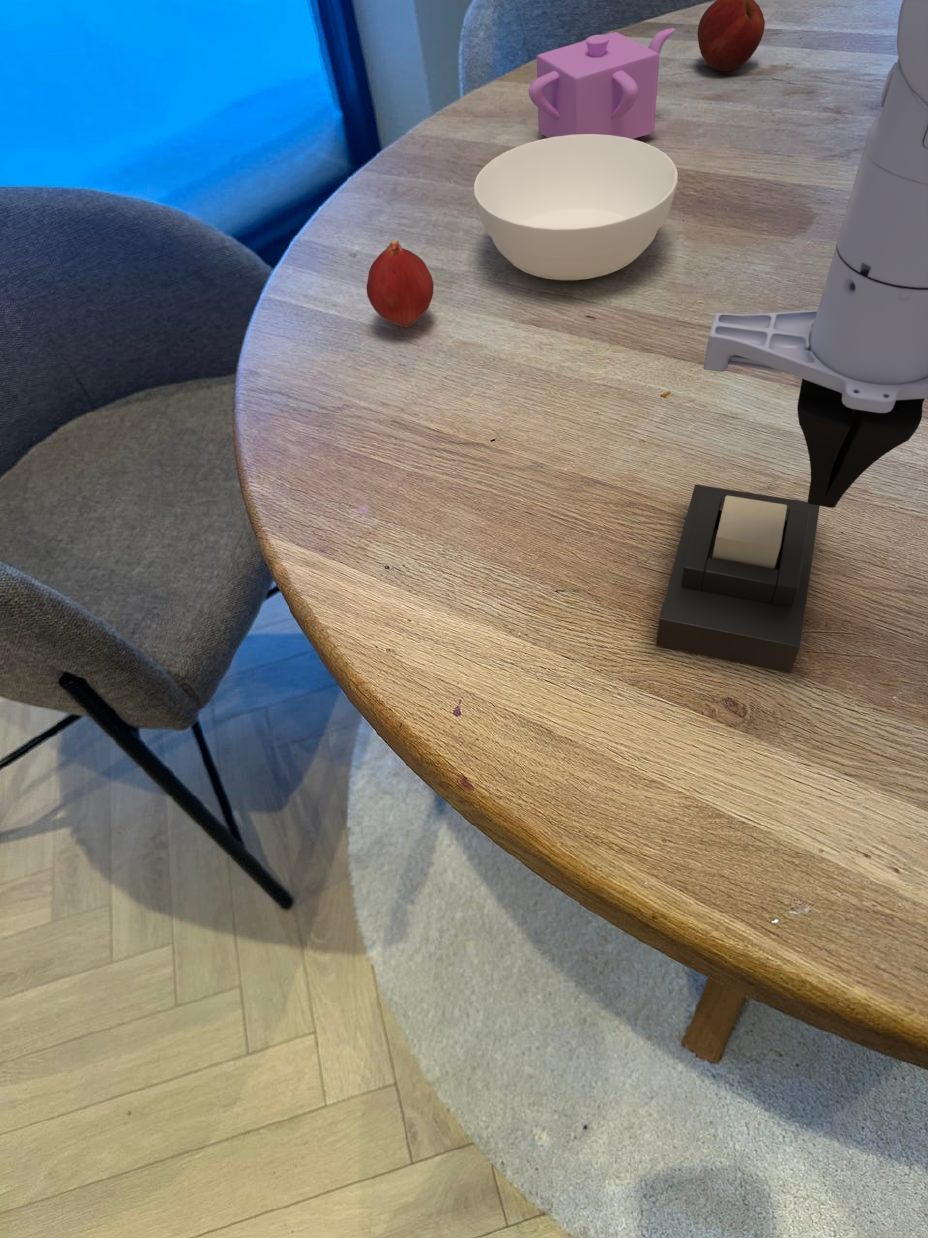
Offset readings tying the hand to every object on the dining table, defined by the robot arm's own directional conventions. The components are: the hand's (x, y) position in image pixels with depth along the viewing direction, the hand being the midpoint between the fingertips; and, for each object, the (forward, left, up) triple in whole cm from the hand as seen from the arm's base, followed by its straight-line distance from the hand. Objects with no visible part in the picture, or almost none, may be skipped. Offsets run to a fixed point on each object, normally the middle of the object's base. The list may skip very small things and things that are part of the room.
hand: (822, 493), depth 45 cm
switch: (+3, -2, -6) cm, 7 cm away
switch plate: (+3, -2, -10) cm, 11 cm away
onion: (+29, -33, -10) cm, 45 cm away
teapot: (+11, -69, -10) cm, 71 cm away
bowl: (+14, -44, -10) cm, 47 cm away
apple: (-4, -87, -10) cm, 88 cm away
